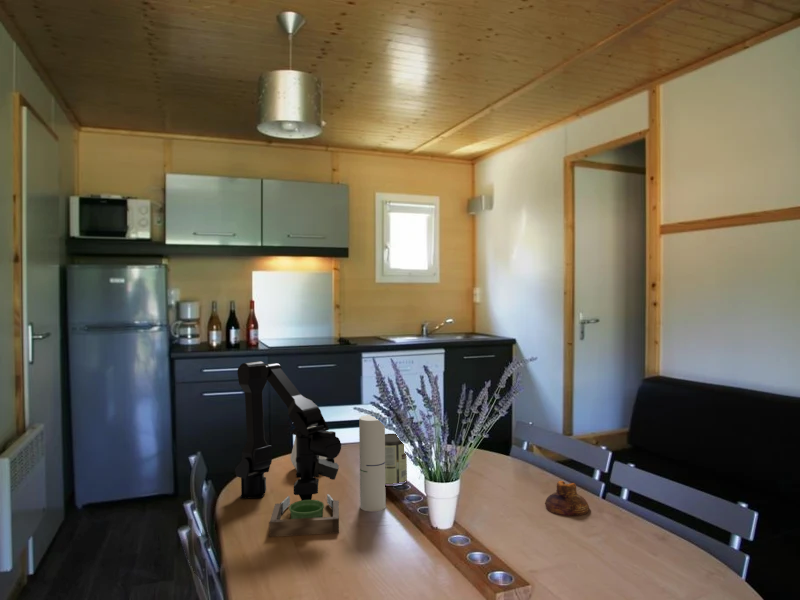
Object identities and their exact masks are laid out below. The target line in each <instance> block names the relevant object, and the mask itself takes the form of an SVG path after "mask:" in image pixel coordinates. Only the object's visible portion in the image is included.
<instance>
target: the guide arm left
mask: <svg viewBox="0 0 800 600" xmlns="http://www.w3.org/2000/svg"><path fill="white" fill-rule="evenodd" d="M280 503H281V516H282V515H284V511H285V510H286V509H288V508H289V507H290V505H291V496H290V495H287V497H285V498H284V500H282V501H281V502H280Z"/></svg>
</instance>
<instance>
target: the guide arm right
mask: <svg viewBox="0 0 800 600" xmlns="http://www.w3.org/2000/svg"><path fill="white" fill-rule="evenodd" d="M326 496H327V497H326V502H327V504H328V506H329V507H330V509H331V512H332V513H333V501H336V500H335V499H333V497H332V496H331V495H330V493H327V494H326Z"/></svg>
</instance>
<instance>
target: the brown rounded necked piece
mask: <svg viewBox="0 0 800 600" xmlns="http://www.w3.org/2000/svg"><path fill="white" fill-rule="evenodd" d="M544 504H545V505H544V506H545V509H546V510H547V511H548V512H551V513H552V514H556V515H560V516H566V517H580V516H581V517H582V516H584V515H586V514H588V512H589V511H590V506H589V505H590V504H589V502H588V501H587V500H586V498H585V497H583V496H582V495H580V494H578V493H577V484H576V483H575V482H571V483H565V481H563V480H559V481H557V482H556V491H555V492H553V493H551V494H549V495H548V496H547V497H546V499H545V501H544Z"/></svg>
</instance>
